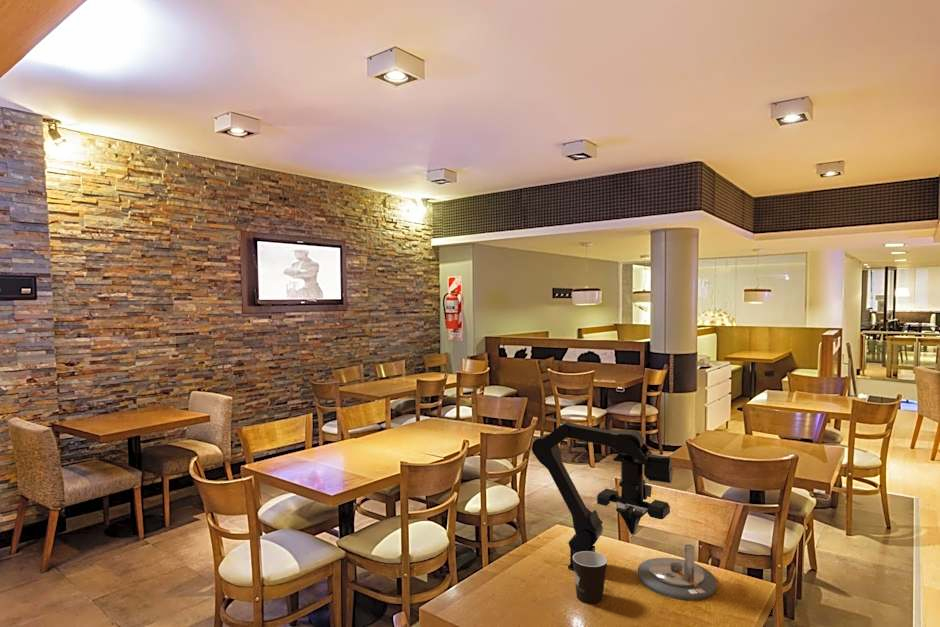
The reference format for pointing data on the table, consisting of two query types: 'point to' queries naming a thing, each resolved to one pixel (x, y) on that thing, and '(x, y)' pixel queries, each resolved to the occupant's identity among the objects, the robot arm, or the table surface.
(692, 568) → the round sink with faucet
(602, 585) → the coffee mug
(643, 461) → the robot arm
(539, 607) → the table surface
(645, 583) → the dial base
